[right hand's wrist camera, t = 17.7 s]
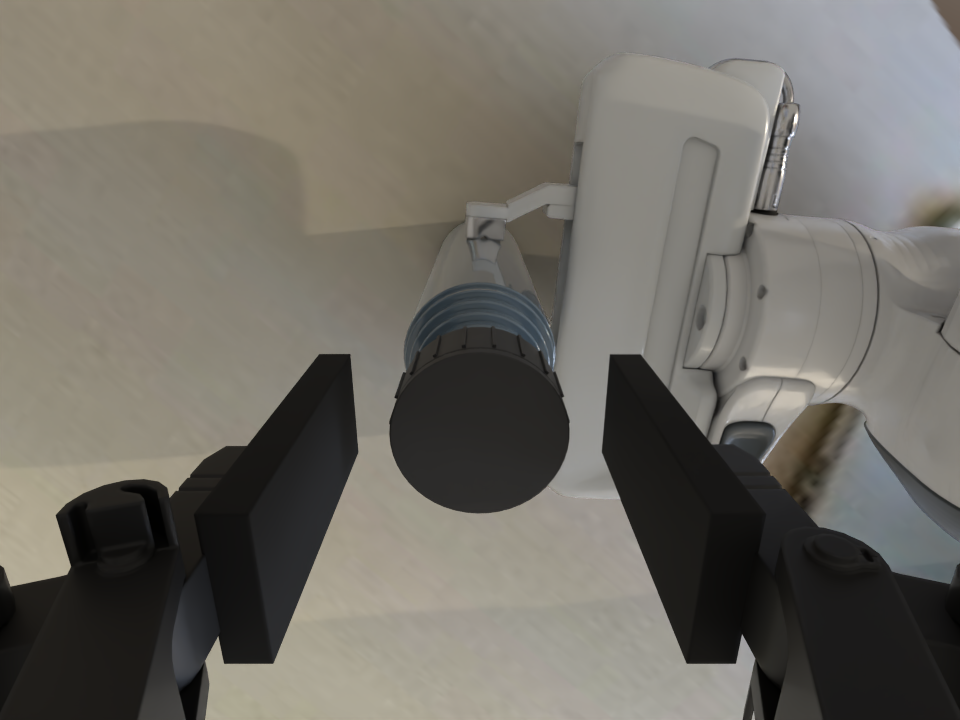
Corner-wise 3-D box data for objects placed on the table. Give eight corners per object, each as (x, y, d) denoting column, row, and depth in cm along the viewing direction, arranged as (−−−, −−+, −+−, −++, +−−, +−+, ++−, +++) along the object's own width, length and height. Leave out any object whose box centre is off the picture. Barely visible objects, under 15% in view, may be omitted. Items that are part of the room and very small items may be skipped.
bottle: (535, 273, 33) (616, 456, 13) (467, 314, 34) (449, 543, 14) (493, 202, 32) (515, 289, 12) (423, 247, 33) (337, 397, 13)
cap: (408, 311, 14) (396, 336, 12) (576, 337, 14) (591, 365, 12) (390, 459, 15) (378, 502, 13) (543, 481, 15) (552, 525, 14)
